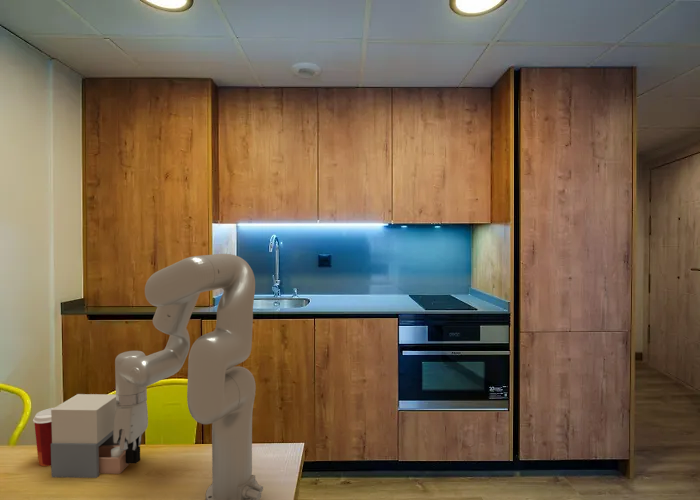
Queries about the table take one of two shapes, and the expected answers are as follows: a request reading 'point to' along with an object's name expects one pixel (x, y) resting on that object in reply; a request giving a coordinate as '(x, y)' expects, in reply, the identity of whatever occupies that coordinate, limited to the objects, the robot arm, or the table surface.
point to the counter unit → (81, 434)
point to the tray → (112, 459)
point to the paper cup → (43, 436)
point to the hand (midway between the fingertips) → (133, 461)
